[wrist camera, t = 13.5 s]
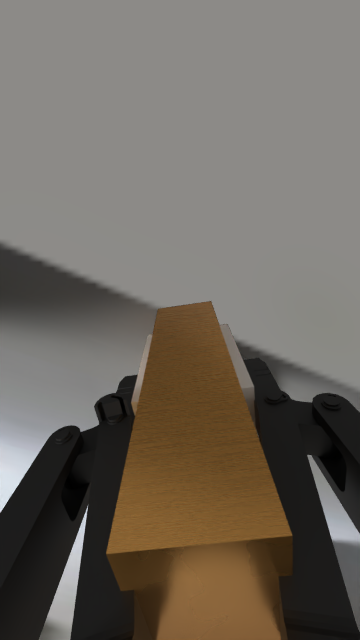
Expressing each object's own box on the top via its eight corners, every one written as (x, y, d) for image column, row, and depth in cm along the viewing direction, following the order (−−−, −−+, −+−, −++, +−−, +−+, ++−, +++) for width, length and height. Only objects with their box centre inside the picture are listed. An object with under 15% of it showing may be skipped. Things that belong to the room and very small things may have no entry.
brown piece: (139, 311, 18) (42, 559, 5) (230, 298, 18) (362, 529, 5) (191, 550, 28) (202, 852, 15) (252, 544, 27) (318, 848, 14)
